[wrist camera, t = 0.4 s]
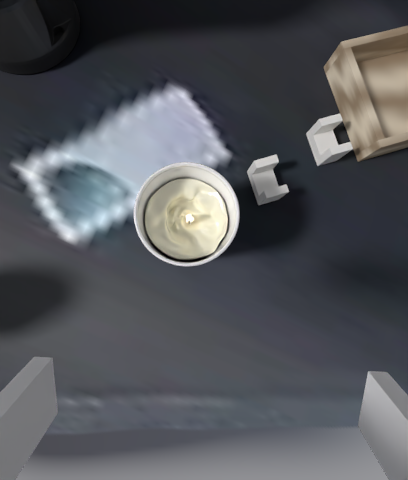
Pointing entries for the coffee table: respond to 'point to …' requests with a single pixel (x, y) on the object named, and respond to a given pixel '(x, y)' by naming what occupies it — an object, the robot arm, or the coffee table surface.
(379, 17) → the coffee table surface
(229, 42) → the coffee table surface
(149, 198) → the candle holder
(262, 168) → the clips
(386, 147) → the square wooden tray
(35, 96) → the coffee table surface
